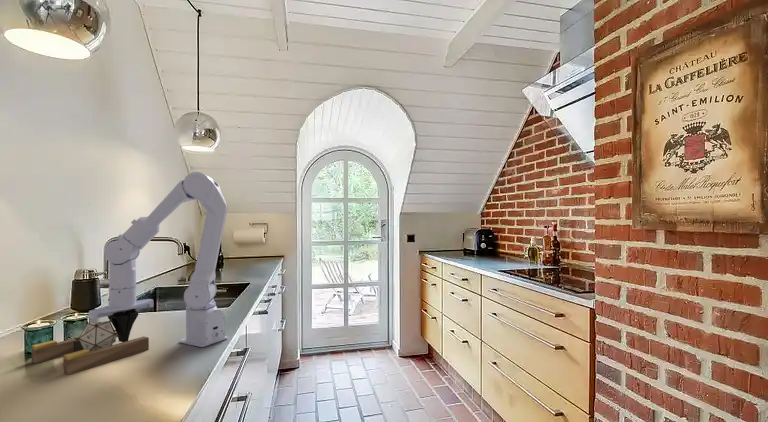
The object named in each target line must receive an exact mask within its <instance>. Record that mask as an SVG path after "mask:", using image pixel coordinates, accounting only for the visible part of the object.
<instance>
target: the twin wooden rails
mask: <svg viewBox="0 0 768 422" xmlns="http://www.w3.org/2000/svg"><path fill="white" fill-rule="evenodd" d="M114 330H115V329H114ZM115 333H116V330H115ZM79 337H80V336H79ZM79 337H77V338H79ZM75 338H76V337H74V338H71V339H65V340H63V341H59V342H58V341H56V340H53V339H52V340H48V341H44V342H41V343H40V342H39V343H36V344H32V345H31V363H33V364H39V363H42V362H47V361H50V360H54V359H58V358H60V357H62V358H63V360H62V361H63V374H66V375H73V374H76V373H78V372H82V371H85V370H87V369H92V368H94V367H97V366H100V365H104V364H108V363H110V362H113V361H117V360H119V359H123V358H126V357H129V356H133V355H137V354H140V353H143V352H145V351H149V349H150V347H149V346H150V344H149V343H150V342H149V340H150V338H149V337H148V336H141V337H137V338H132V339H128V341H126V342H119V343H115V342H116V341H117V340H116V339H117V338H116V339H115V341H114V342H113V343H115V344H112V345H111V346H108V347H104V348H101V349H97V350H93V351H89V350H86V349H83V348H82V346H81V344H80V342H79V340H75Z"/></svg>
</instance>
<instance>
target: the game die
mask: <svg viewBox="0 0 768 422" xmlns="http://www.w3.org/2000/svg"><path fill="white" fill-rule="evenodd" d="M111 321H112V318H111V319H110V320H109V319H108V320H107V321H106V320H105V321H99V322H89V321H87V320H86V321H85V324H86V326H85V327H84V329H83V331H81V334H80V335H79V338H78V337H74V338H75V340H79V342H80V344H81V346H82V348H83V349H86V350H89V351H93V350H97V349H101V348H104V347H108V346H111V345H114V343H115V342H114V341H115V339H117V338H118V337H119V336H120V335H117V334H118V333H117V332H116V333H115V328H114V326H113V324H112V323H111Z"/></svg>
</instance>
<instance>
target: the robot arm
mask: <svg viewBox="0 0 768 422" xmlns="http://www.w3.org/2000/svg"><path fill="white" fill-rule="evenodd" d="M194 200H197V201H198V202H199V203H200V204H201V206H202V207H203V208H204V209H205V210H206V215H205V219H204V223H203V229H202V232H201V238H200V243H199V249H198V253H197V259H196V263H195V268H194V271H193V273H192V276H191V279H190V283H189V284H188V287H186V289H185V291H184V293H183V301H184V303H185V323H186V324H185V335H186V336H185V338H182V339H179V340H178V343H182V344H185V345H190V346H194V347H200V348H204V347H208V346H210V345H212V344H216V343H218V342H222V341H225V340H227V339H228V336H226V319H225V317H226V316H225V314H224V312H223V310H222V309H219V308H218V307H217V302H216V301H215V299H214V297H215V296H216V295H217V290H218V289H217V285H216V277H217V276H216V269H217V265H218V264H217V263H218V258H219V253H220V248H221V244H222V243H221V242H222V237H223V232H224V227H225V224H226V219H227V214H228V213H227V212H228V204H227V201H226V199H225V197H224V195H223V192H222V189H221V186H220V184H219V183H218V182H217V181H216V180H215V179H214V178H213V177H212V176H209V175H206V174H205V173H202V172H200V171H195V172H193V171H192V172H190V173H189V174H187V175H186V176H185V177H184V179H182V180H180V181H179V182H178V183H177V184H176V185H175V186H174V187H173V188H172V190H171V191H169V193H168V194H167V195H166V196H165V197H164V199H163V200H161V201H160V203H159V204H157V206H156V207H155V208H154V210H152V212H150V214H149V215H148V216H140V217H139V218H138V219H137V218H135V219H133V220H131V225H130V226H129V228H127V230H125V232H124V233H120V234H119V235H118V236H117V238H118V239H117V240H113V241H111V242H109V243H108V244H107V246H106V247H105V250H104V256H105V258H106V260H107V262H108V269H109V271H108V282H109V283H108V286H109V287H108V289H109V291H108V292H109V294H108V295H109V296H108V297H109V298H108V299H109V300H108V301H109V302H108V304H109V305H107V306H104V307H103V306H102V307H99V308H97V309H91V310H88V319H89V320H93V321H94V320H98V319H101V318H104V317H107V319H108V321H109V320H110V319H111V318H112V321H111V324H112V326H113V328H114V330H116V332H117V333H118V334H117V335H120V336H119V337H117V339H118V342H119V343H122V342H126V341H129V340H130V339H129V337H130V335H131V331H132V328H133V326H134V323H135V322H136V320H137V318H138V317H139V311H137V310H141V309H147V308H153V307H154V299H151V298H147V299H139V300H137V267H136V263H137V262H136V259H138V257H139V256H140V253H141V250H142V249H143V248H145V246H147V245H148V243H149V242H151V240H153V239H154V237H155V236H157V235H158V233H159V232H160V224H161V223H162V222H164V221H165V219H167V218H168V217H169V216H170V215H171V214H172V213H173V212H174V211H175V210H176V209H178V208H179V206H180V205H182V204H183V203H186V202H190V201H194Z"/></svg>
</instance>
